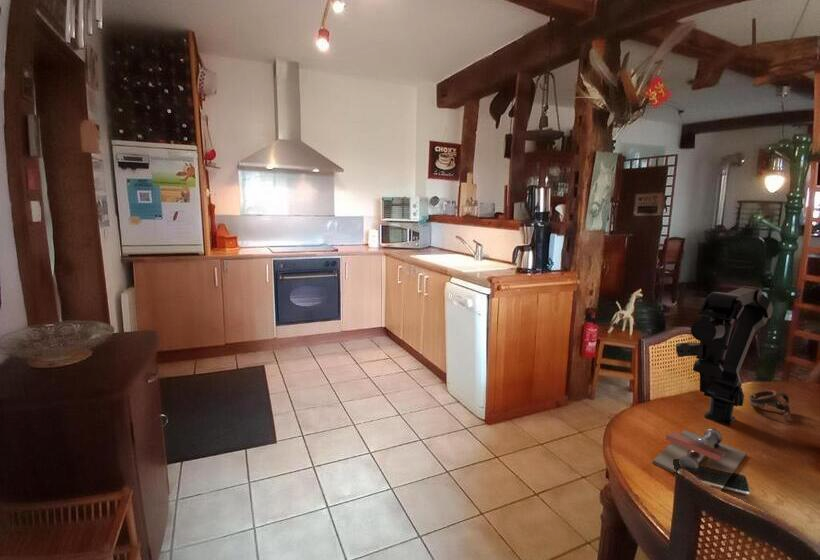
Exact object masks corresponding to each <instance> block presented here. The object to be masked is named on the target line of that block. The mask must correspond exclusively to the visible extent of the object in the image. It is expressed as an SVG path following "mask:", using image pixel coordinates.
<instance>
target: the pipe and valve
mask: <svg viewBox="0 0 820 560" xmlns="http://www.w3.org/2000/svg"><path fill="white" fill-rule="evenodd" d="M703 435H704V437H703V438H702V439H704V440H706V441H708V443H707V445H708V446H711V447H713V448H716V449H718V448H719V447H720V445H719V443H722V441H723V435H722V433H721V432H720V431H719V430H717V429H715V428H707V429H706V430H705V431H704V434H703ZM694 440H695V439H694ZM711 460H712V458H710V457H707V456H705V455H702V454H700V453H698V452H695V451H693V450H690V449H688V450H687V455H684V456H682V457H681V458H680V460H679V464H680V466H681V468H682V467H684V468H683V469H685V468H687V469H686V470H688V471H689V472H691V473H694V472H696V471H697V470H698V468H699V463H701V464H704V465H706V466H707V465H708V464H709V462H710V461H711Z"/></svg>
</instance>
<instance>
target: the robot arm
mask: <svg viewBox="0 0 820 560" xmlns="http://www.w3.org/2000/svg"><path fill="white" fill-rule="evenodd" d="M773 310H774V308H773V304H772V300H771V299H769V298H768V297H767V296H766V295H764V294H763V290H762V289H760V288H758V287H753V286H752V287H751V286H746V285H743V286H739V287H738V288H737V289H733V290H731V291H729V292H720V291H712V292H710V294H708V295H707V296H706V298H705V299H704V302H703V303H702V306H701V307H700V309H699V312H698V314H697V316H701V319H699V320H698V319H697V320H696V321H694V323H693V324H692V325H691V327H690V332H691V335H692V337H693V338H694V339H695V340H696V341H699V342H679V343H676V345H675V352H676V355H677V357H678V358H683V357H695V356H696V357H695V358H696V359H697V360H695V362H694V364H693V366H692V367H693V368H692V371H693V372H695V373H699V392H701V393H703V396H705V397H708V398H710V400H709V401H710V402H709V407H708V411H707V412H706V413H704V415H703V417H704V418H707V419H709V420H712V421H715V422H718V423H721V424H725V425H726V426H727V425H728V426H730V425H732V424H733V422H734V421H735V420H736V417H735V416H733V413H734V408H735V407H742V406H743V405H744V400H745V398H744V397H745V394H744V391H743V388H742V384H743V383H742V380H741V377H740V375H739V374H740V371H741V368H742V365H743V363H744V360H745V359H746V356H747V353H748V351H749V348H750V346H751V342H752V340H753V338H754V335H755V333H756V331H757V330H759V329H761V328H762V327H764V326H766V324H767V322H768V319H770V318H772V316H773V312H774V311H773ZM735 321H737V324H736V327H735V329H734V332H733V334H732V331H733V327H734V323H735ZM731 334H732V336H731ZM730 337H731V340H730Z"/></svg>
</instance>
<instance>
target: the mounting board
mask: <svg viewBox="0 0 820 560" xmlns="http://www.w3.org/2000/svg"><path fill="white" fill-rule="evenodd" d="M679 434H680V435H682V436H685V437H687V438H690V439H693V440H694V439H697V438H701V439H702V438H703V437H704V436H703V435H700V434H698V433H695V432H692V431H690V430H687V429H684V430H683V431H682V432H681V433H679ZM719 445H720V447H719V448H718V450H721V451H723V452H726V453H725V457H724V458H723V459H721V460H720V461H717V460H715V459H712V460H711V461H710V462H709V464H708V465H707V466H706V465H704V464H701V463H699V465H703V466H706V467H711V468H715V469H718V470H723V471H726V472H731V473H735V472H736V470H737V469H738V467H740V465H741V464H742V462H743V460H744V459H745V457H746V456H747V452H746V451H744V450H743V451H742V450H740V449H737V448H735V447H732V446H730V445H727V444H725V443H722V442H720V443H719ZM687 450H688V448H685V447H683V446H680V445H678V444H675V443H673V442H670V443H669V445H667V446H666V447H665V448H664V449H663V450H662V451H661V452H660V453H659V454H658V455H657V456H656V457H655V458H654V459H653V460H652V464H653V465H655V466H658V467H659V468H662V469H664V470H667V471H668V472H671V473H673V474H675V473H674V472H676V470H675V469H674V465H673V460H674V459H680V458H681V457H682V456H684V455H687ZM692 474H693V473H692ZM695 476H696V477H697V478H699V477H698V475H695ZM699 479H700V478H699ZM702 481H703V480H702ZM715 488H716V487H715ZM719 489H720V490H722V488H719ZM722 491H723V490H722Z"/></svg>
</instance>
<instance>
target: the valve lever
mask: <svg viewBox="0 0 820 560" xmlns="http://www.w3.org/2000/svg"><path fill="white" fill-rule="evenodd" d="M680 434H681V433H677V432H673V431H672V432H670V433H668V434H666V437H665V440H666V441H669V442H670V443H672V442H673V443H675V444H678V445H680V446H683V447H685V448H688V449H690V450H693V451H695V452H698V453H700V454H702V455H705V456H707V457H710V458H712V459H715V460H717V461H720V460H721V459H723V458H724V457H725V453H726V452H723V451H721V450H718V449H716V448H713V447H711V446H708V445H707V443H708V441H706V440H704V439H701V438H697V439H695V440H693V439H690V438H687V437H685V436H682V435H680Z"/></svg>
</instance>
